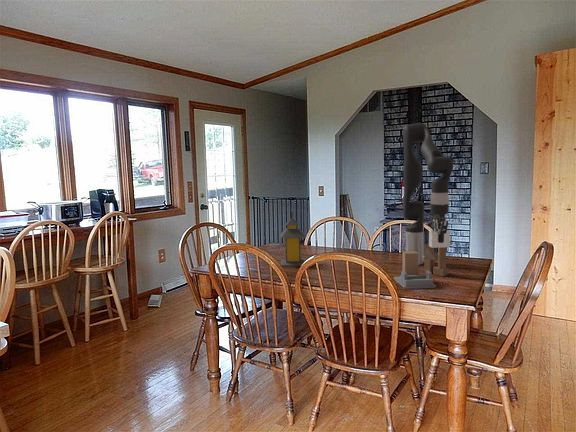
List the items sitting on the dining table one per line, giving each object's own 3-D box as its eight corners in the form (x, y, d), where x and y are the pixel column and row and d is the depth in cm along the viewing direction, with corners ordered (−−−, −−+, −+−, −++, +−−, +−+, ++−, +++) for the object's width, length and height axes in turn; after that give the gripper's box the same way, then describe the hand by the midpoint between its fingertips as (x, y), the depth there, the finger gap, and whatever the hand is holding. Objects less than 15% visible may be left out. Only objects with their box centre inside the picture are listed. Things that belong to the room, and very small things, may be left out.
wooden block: (428, 271, 220) (428, 235, 218) (447, 275, 212) (448, 238, 210) (423, 272, 218) (424, 236, 216) (443, 276, 210) (443, 239, 208)
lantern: (280, 266, 240) (278, 211, 236) (280, 261, 254) (279, 209, 250) (306, 266, 240) (305, 210, 236) (305, 260, 254) (303, 208, 250)
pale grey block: (428, 246, 197) (429, 230, 197) (446, 245, 198) (446, 230, 197) (431, 247, 194) (431, 231, 193) (449, 247, 194) (450, 231, 193)
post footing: (393, 278, 209) (393, 251, 207) (423, 277, 209) (423, 250, 207) (403, 289, 192) (403, 259, 190) (435, 287, 192) (436, 258, 191)
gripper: (425, 201, 200) (425, 239, 202) (437, 204, 186) (436, 245, 188) (442, 201, 201) (441, 238, 203) (454, 204, 187) (454, 244, 189)
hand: (439, 241), depth 196 cm, fingers closed on pale grey block, 3 cm apart
